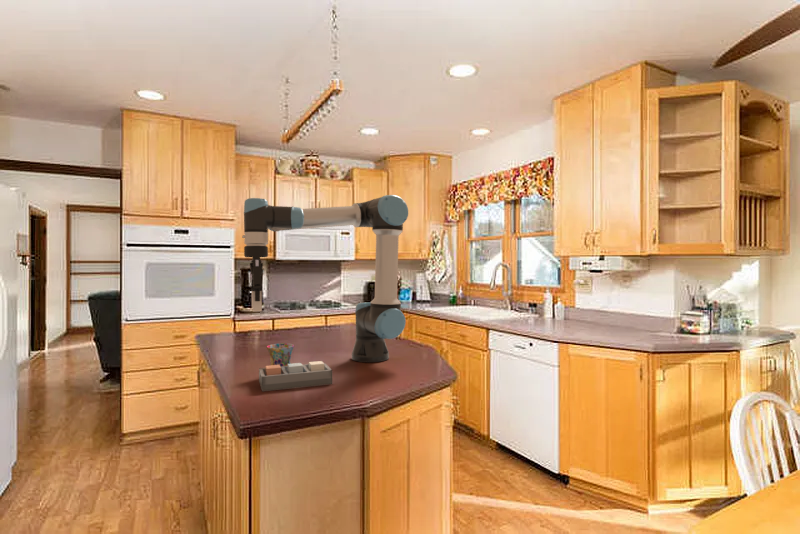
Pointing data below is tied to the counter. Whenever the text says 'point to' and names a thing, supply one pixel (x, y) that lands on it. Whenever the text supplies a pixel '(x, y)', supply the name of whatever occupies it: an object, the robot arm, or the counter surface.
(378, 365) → the counter surface
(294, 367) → the key middle
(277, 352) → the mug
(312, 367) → the key
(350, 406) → the counter surface
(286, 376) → the grey compartment tray
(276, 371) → the key
